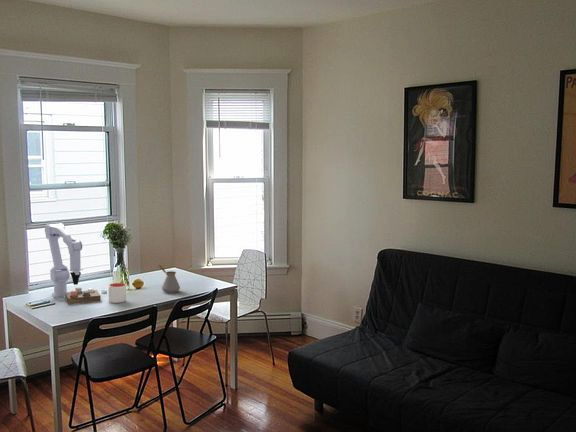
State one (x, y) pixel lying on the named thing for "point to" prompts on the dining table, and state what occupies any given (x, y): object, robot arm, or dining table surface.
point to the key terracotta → (73, 294)
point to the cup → (117, 292)
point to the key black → (86, 293)
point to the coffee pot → (170, 282)
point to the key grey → (78, 290)
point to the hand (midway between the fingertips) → (75, 284)
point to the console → (83, 298)
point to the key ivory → (91, 290)
